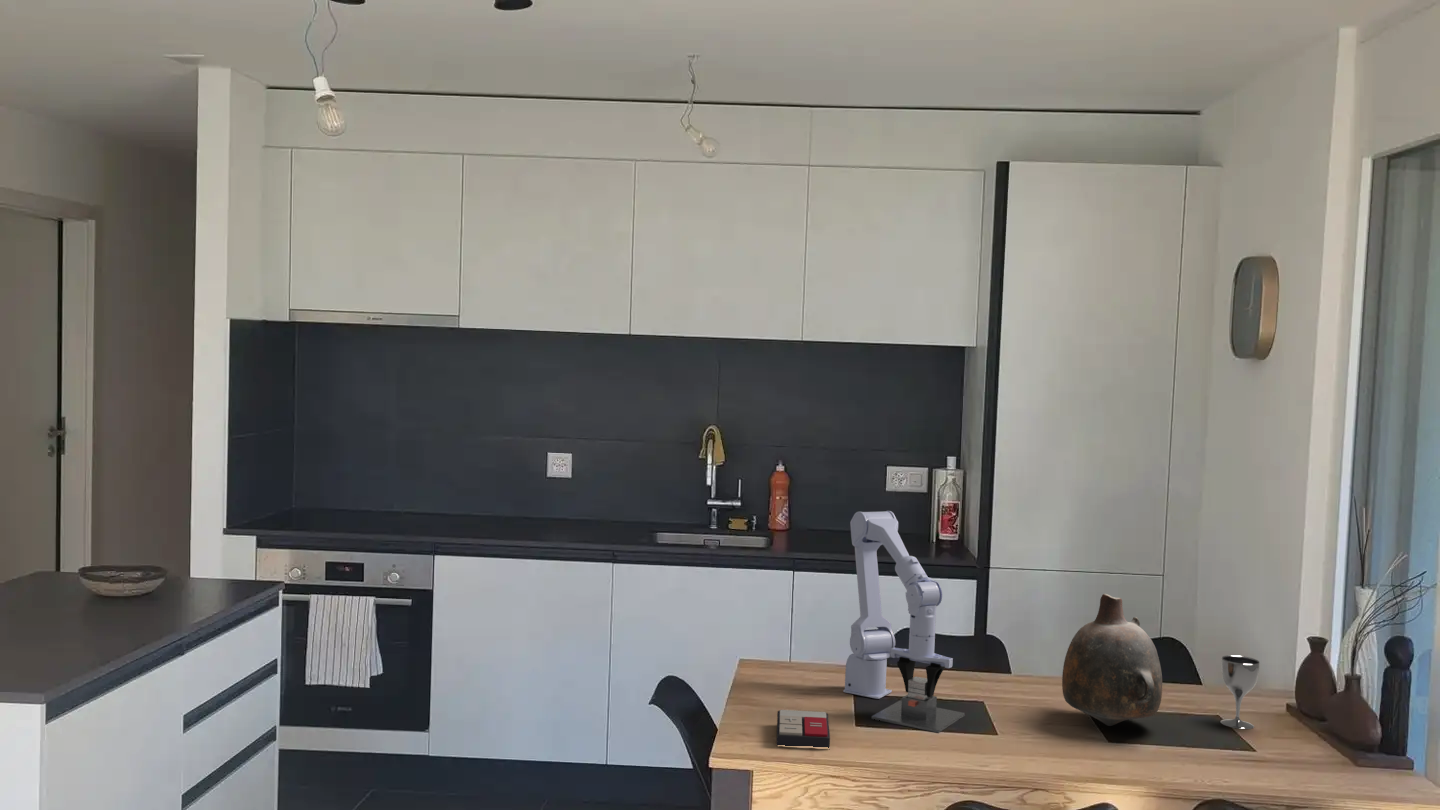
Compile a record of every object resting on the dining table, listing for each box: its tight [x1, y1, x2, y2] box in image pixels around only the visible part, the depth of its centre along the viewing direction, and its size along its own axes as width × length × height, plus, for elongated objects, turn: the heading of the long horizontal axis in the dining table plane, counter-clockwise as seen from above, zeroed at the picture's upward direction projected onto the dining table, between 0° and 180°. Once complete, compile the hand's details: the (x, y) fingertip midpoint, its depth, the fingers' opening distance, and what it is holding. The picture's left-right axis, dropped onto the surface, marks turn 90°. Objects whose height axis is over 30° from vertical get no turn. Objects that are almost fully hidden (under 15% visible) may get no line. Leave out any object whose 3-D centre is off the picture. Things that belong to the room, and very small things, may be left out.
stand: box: [871, 694, 966, 734], centre depth 273 cm, size 16×16×5 cm
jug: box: [1061, 593, 1163, 727], centre depth 272 cm, size 24×21×30 cm
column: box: [907, 676, 931, 701], centre depth 273 cm, size 4×4×8 cm
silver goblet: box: [1220, 654, 1261, 730], centre depth 277 cm, size 8×8×15 cm
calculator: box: [776, 709, 831, 748], centre depth 256 cm, size 11×4×15 cm
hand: (919, 693), depth 273 cm, fingers open, 5 cm apart
